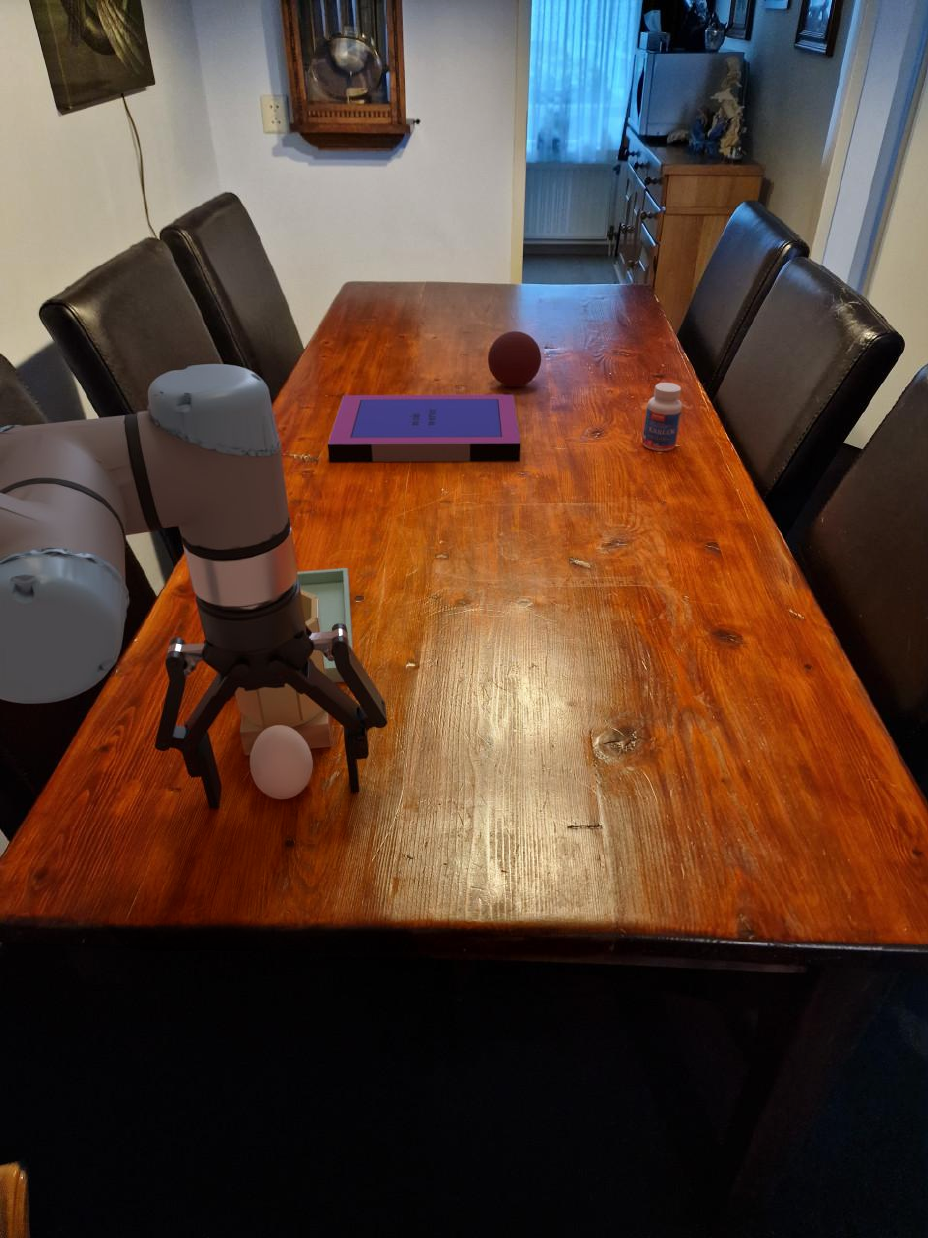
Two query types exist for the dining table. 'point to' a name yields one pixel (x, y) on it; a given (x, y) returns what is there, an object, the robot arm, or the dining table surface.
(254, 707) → the cup
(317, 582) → the tray
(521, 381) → the decorative ball
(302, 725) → the block
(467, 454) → the book
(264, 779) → the egg
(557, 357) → the dining table surface
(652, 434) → the pill bottle
